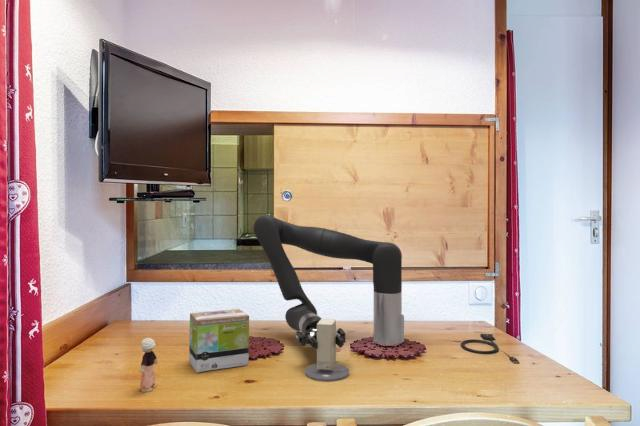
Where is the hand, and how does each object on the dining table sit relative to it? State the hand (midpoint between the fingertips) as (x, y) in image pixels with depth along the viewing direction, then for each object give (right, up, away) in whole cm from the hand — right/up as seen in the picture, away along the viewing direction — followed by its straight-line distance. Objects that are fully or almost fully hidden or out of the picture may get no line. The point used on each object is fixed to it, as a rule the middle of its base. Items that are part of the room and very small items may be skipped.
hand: (328, 344), depth 123 cm
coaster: (0, -8, +2) cm, 9 cm away
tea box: (-31, -9, +9) cm, 34 cm away
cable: (+50, -9, +24) cm, 56 cm away
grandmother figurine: (-45, -9, -9) cm, 47 cm away
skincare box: (-1, -7, +2) cm, 7 cm away
